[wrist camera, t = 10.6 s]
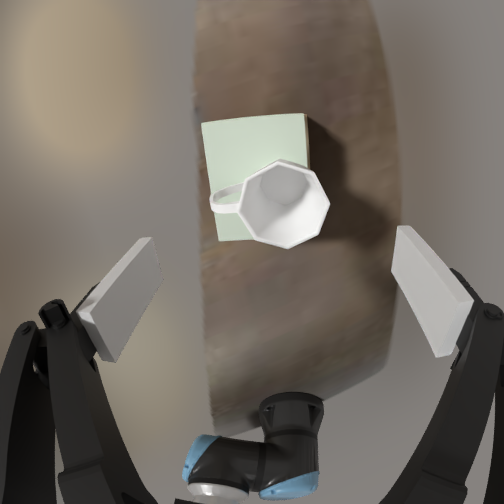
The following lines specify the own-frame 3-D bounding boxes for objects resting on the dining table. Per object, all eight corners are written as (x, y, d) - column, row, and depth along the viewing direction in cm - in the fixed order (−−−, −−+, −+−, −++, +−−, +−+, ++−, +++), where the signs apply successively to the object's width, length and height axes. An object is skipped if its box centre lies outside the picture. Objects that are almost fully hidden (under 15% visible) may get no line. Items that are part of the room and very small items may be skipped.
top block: (306, 222, 34) (309, 236, 31) (225, 226, 35) (218, 241, 32) (300, 113, 28) (303, 113, 25) (210, 121, 29) (201, 123, 26)
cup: (320, 209, 29) (331, 246, 22) (226, 218, 31) (208, 256, 24) (315, 142, 26) (327, 157, 19) (214, 154, 27) (189, 173, 20)
